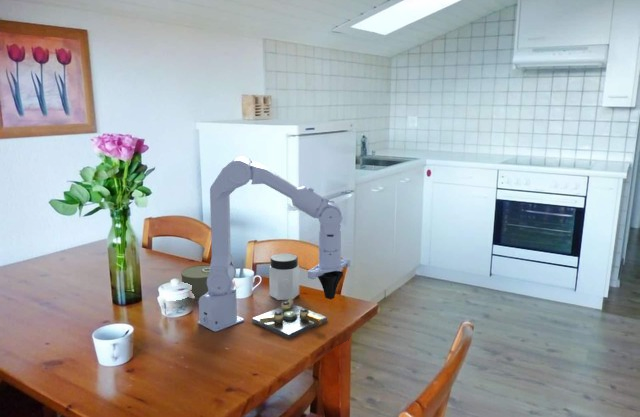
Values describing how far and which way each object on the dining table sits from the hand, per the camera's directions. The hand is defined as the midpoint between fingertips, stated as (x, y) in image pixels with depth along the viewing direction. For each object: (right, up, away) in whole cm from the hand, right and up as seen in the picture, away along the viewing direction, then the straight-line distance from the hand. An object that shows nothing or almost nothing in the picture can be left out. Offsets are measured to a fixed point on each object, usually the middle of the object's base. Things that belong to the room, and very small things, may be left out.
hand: (329, 297), depth 135 cm
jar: (-13, -3, +19) cm, 23 cm away
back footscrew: (-11, -4, +5) cm, 13 cm away
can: (-39, -2, +21) cm, 44 cm away
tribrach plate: (-11, -6, 0) cm, 12 cm away
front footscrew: (-5, -6, -2) cm, 8 cm away
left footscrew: (-15, -6, -3) cm, 17 cm away
